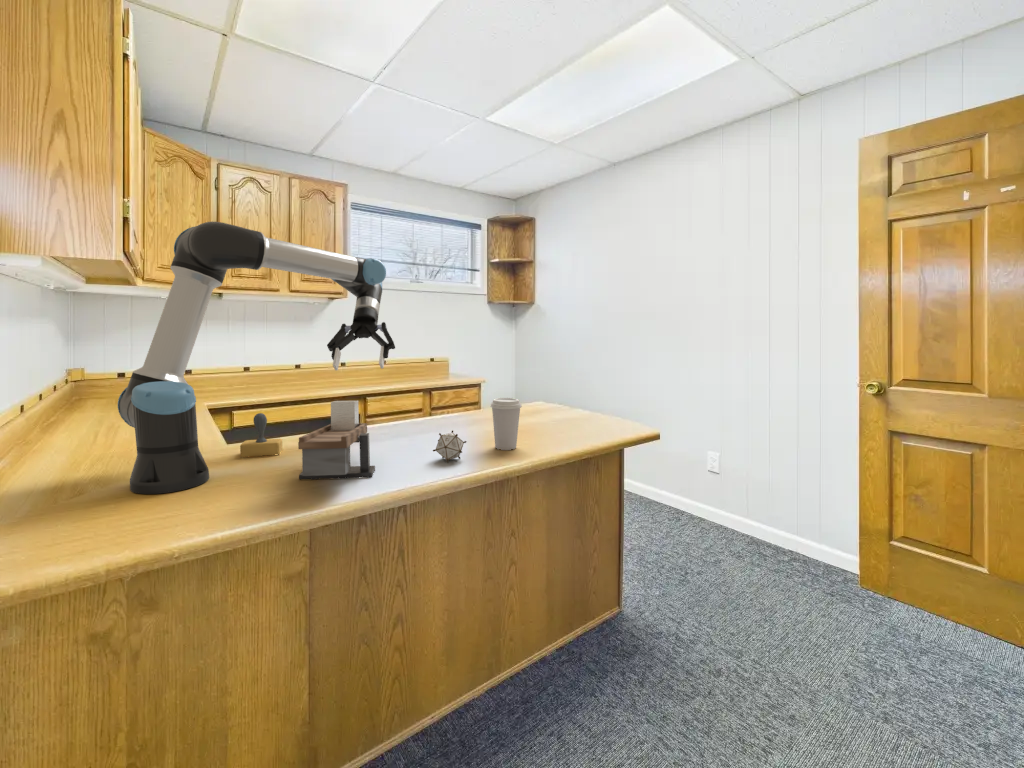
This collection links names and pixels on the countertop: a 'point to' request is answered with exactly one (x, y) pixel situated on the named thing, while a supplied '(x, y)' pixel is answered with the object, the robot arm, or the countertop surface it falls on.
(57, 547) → the countertop surface
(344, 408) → the light grey block
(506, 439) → the coffee cup
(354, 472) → the pivot stand
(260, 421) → the rubber stamp
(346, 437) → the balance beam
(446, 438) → the game die
